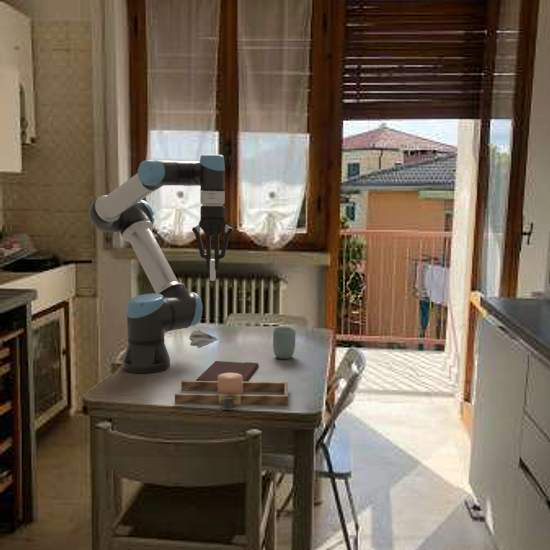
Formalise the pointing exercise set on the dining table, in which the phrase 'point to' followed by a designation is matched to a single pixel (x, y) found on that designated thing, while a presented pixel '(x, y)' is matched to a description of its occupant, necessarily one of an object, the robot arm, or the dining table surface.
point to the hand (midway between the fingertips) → (212, 279)
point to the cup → (283, 342)
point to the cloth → (201, 339)
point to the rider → (230, 383)
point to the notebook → (228, 370)
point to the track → (234, 398)
